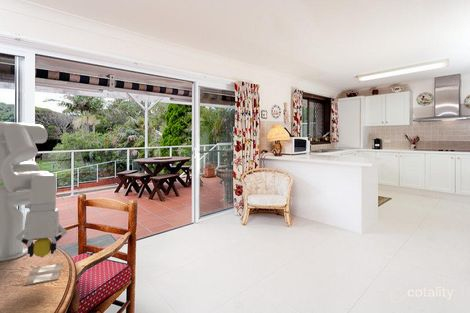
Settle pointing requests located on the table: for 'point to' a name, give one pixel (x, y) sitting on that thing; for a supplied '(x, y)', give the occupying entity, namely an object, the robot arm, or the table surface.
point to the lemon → (42, 247)
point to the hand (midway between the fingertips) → (42, 253)
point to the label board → (44, 274)
